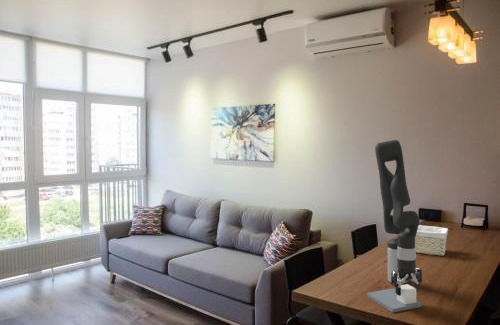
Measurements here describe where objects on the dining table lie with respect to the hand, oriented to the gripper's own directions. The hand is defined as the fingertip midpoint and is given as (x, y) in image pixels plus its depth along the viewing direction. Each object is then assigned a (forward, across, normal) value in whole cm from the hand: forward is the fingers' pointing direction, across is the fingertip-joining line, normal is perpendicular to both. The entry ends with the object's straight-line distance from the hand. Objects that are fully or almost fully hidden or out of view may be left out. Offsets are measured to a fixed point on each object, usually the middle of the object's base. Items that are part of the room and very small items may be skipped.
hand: (406, 293), depth 168 cm
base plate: (+5, +4, -4) cm, 7 cm away
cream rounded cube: (+3, 0, 0) cm, 3 cm away
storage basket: (+5, -63, -59) cm, 86 cm away
